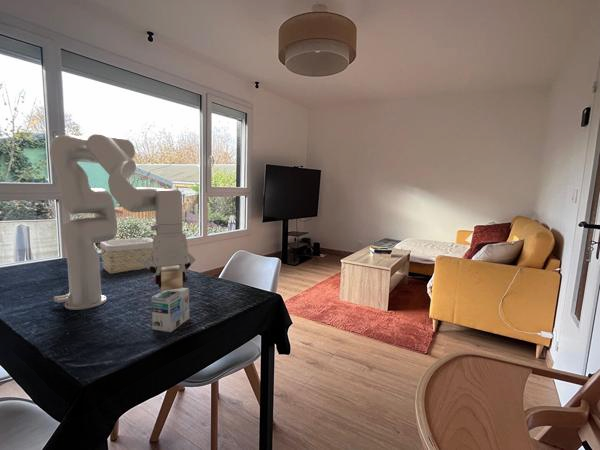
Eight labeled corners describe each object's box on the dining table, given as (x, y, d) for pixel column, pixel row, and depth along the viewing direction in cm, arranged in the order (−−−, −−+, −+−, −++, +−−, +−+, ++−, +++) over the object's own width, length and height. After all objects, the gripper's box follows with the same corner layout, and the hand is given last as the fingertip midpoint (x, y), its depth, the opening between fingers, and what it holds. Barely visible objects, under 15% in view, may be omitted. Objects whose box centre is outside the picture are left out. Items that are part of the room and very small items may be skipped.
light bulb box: (170, 332, 92) (170, 299, 90) (151, 330, 93) (150, 296, 92) (190, 318, 102) (189, 287, 101) (172, 315, 103) (171, 285, 102)
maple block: (162, 291, 92) (161, 272, 91) (159, 285, 97) (158, 267, 96) (182, 288, 95) (182, 269, 94) (178, 282, 100) (178, 265, 99)
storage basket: (149, 261, 173) (148, 236, 171) (159, 267, 161) (158, 240, 159) (100, 268, 156) (98, 240, 154) (108, 275, 144) (106, 245, 143)
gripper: (139, 232, 86) (141, 292, 88) (200, 229, 95) (201, 284, 97) (137, 228, 92) (139, 285, 94) (194, 226, 101) (195, 277, 104)
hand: (170, 284), depth 96 cm, fingers closed on maple block, 5 cm apart
